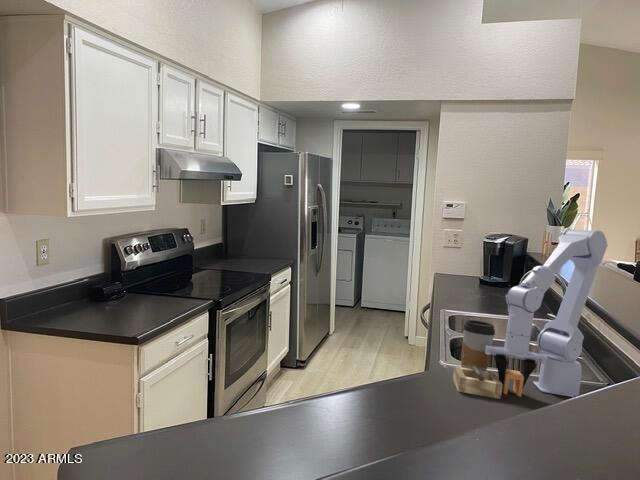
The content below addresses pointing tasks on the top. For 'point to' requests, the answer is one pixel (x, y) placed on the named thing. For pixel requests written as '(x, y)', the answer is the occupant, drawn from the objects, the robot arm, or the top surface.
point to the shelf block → (477, 382)
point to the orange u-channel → (517, 382)
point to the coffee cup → (476, 344)
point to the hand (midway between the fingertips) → (510, 386)
